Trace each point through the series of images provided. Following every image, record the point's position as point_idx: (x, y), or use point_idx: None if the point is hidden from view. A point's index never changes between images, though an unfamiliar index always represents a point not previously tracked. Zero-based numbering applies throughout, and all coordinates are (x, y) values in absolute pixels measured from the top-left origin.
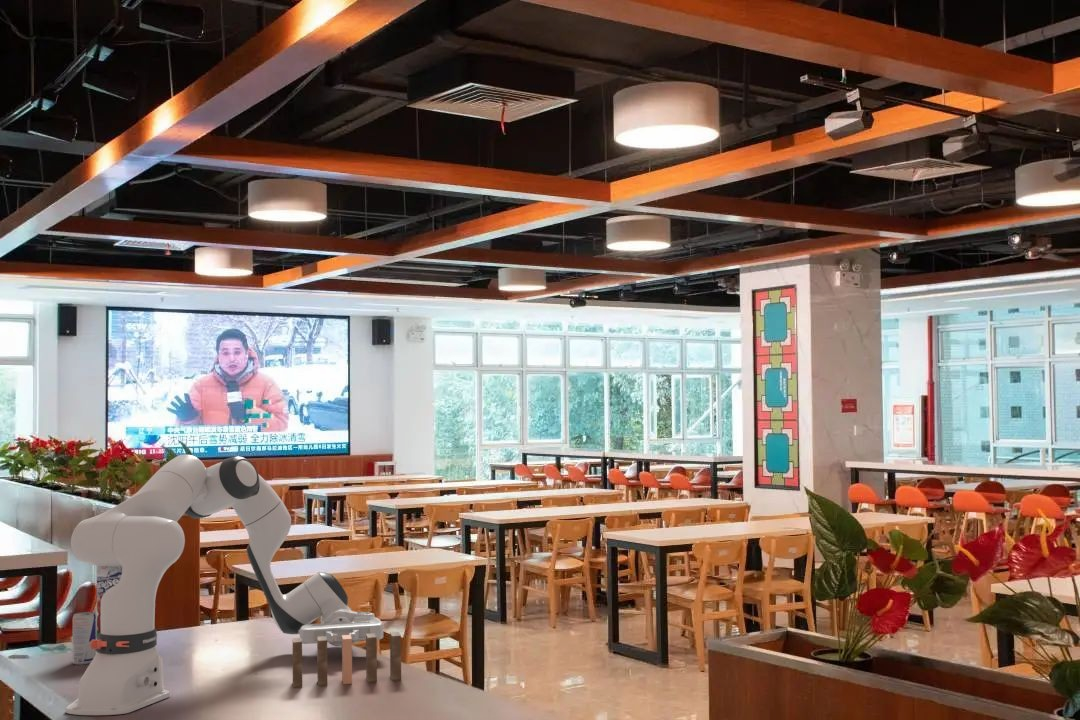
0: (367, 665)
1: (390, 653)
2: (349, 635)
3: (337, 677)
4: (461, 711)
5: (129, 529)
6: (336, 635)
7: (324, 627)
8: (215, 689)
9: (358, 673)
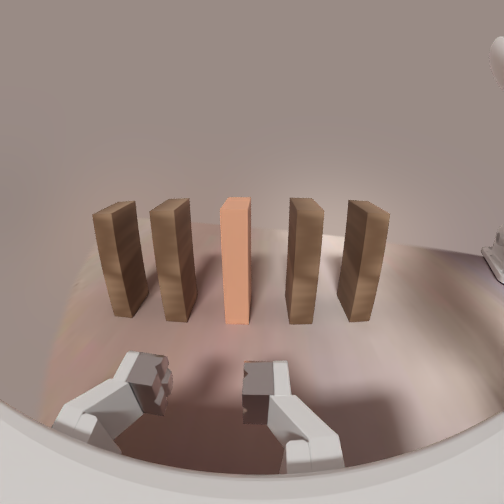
0: (191, 268)
1: (124, 262)
2: (225, 206)
3: (259, 342)
4: None
5: None
6: (250, 361)
7: (373, 486)
8: (480, 302)
9: (191, 362)
